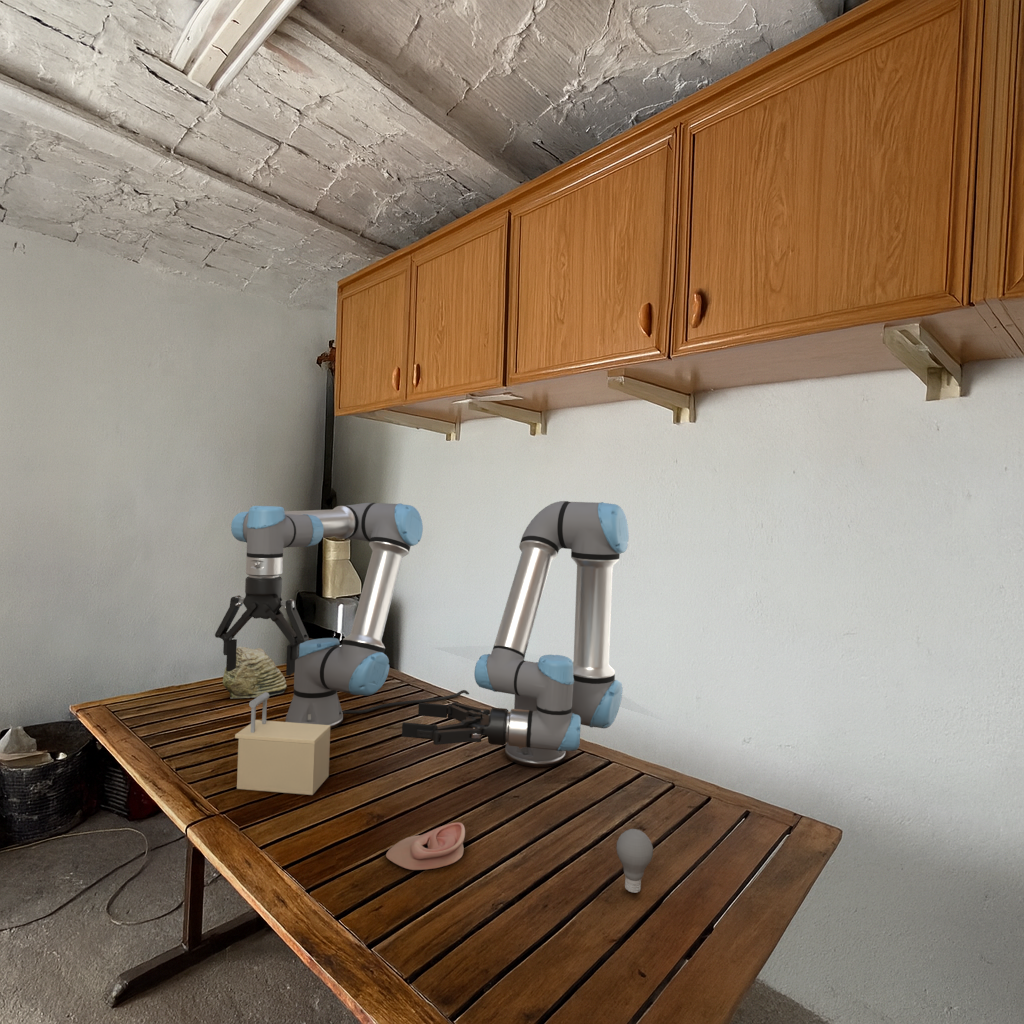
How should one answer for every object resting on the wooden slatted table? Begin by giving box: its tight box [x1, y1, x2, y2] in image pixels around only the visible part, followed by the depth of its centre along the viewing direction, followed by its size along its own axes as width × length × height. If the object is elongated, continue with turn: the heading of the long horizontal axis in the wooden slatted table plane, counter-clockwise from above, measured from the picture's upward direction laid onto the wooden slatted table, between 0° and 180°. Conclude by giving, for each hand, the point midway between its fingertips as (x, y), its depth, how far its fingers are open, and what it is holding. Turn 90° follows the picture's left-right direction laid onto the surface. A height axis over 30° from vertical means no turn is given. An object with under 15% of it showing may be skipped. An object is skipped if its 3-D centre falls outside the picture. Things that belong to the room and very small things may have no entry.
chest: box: [236, 729, 331, 796], centre depth 140 cm, size 17×9×11 cm, turn 85°
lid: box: [234, 692, 331, 744], centre depth 139 cm, size 18×9×8 cm, turn 85°
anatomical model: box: [385, 821, 466, 871], centre depth 114 cm, size 13×4×12 cm
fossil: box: [222, 646, 288, 699], centre depth 198 cm, size 9×18×15 cm, turn 132°
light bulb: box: [615, 828, 654, 894], centre depth 106 cm, size 6×6×10 cm
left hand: (260, 672), depth 140 cm, fingers open, 13 cm apart
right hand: (410, 718), depth 138 cm, fingers open, 13 cm apart
